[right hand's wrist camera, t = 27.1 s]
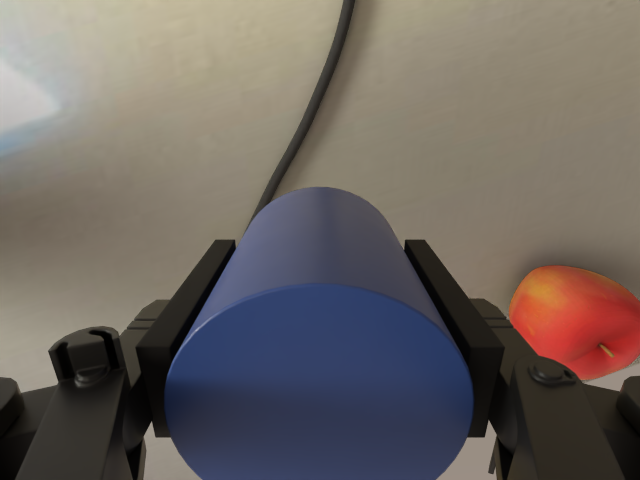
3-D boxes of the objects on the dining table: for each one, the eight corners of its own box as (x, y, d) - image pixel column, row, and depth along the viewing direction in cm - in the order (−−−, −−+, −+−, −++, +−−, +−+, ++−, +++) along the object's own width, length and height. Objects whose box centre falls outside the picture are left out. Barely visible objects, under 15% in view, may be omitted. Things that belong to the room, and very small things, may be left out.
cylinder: (254, 169, 14) (176, 249, 6) (420, 207, 14) (528, 323, 7) (230, 314, 16) (152, 498, 9) (373, 342, 16) (416, 538, 9)
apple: (469, 292, 36) (521, 357, 27) (548, 226, 34) (635, 273, 25) (526, 345, 39) (592, 421, 29) (603, 287, 36) (702, 351, 27)
